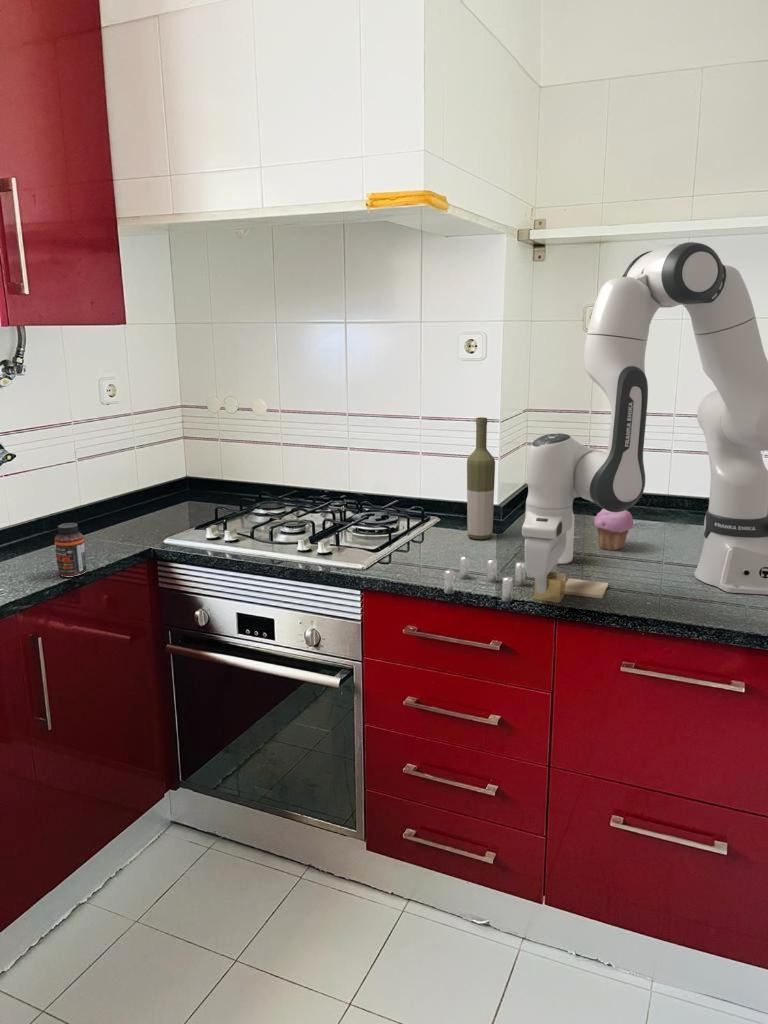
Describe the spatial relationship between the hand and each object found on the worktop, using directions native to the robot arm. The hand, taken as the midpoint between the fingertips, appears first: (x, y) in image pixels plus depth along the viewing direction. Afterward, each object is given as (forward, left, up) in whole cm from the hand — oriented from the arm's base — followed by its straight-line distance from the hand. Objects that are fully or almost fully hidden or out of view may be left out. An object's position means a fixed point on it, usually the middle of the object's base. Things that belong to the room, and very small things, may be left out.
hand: (545, 586), depth 155 cm
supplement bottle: (+99, +24, -2) cm, 102 cm away
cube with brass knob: (-1, 0, -2) cm, 2 cm away
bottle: (+24, -36, -2) cm, 44 cm away
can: (+2, -24, -2) cm, 24 cm away
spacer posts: (+12, 0, -2) cm, 13 cm away
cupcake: (-8, -38, -2) cm, 39 cm away
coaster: (-7, -7, -2) cm, 9 cm away
